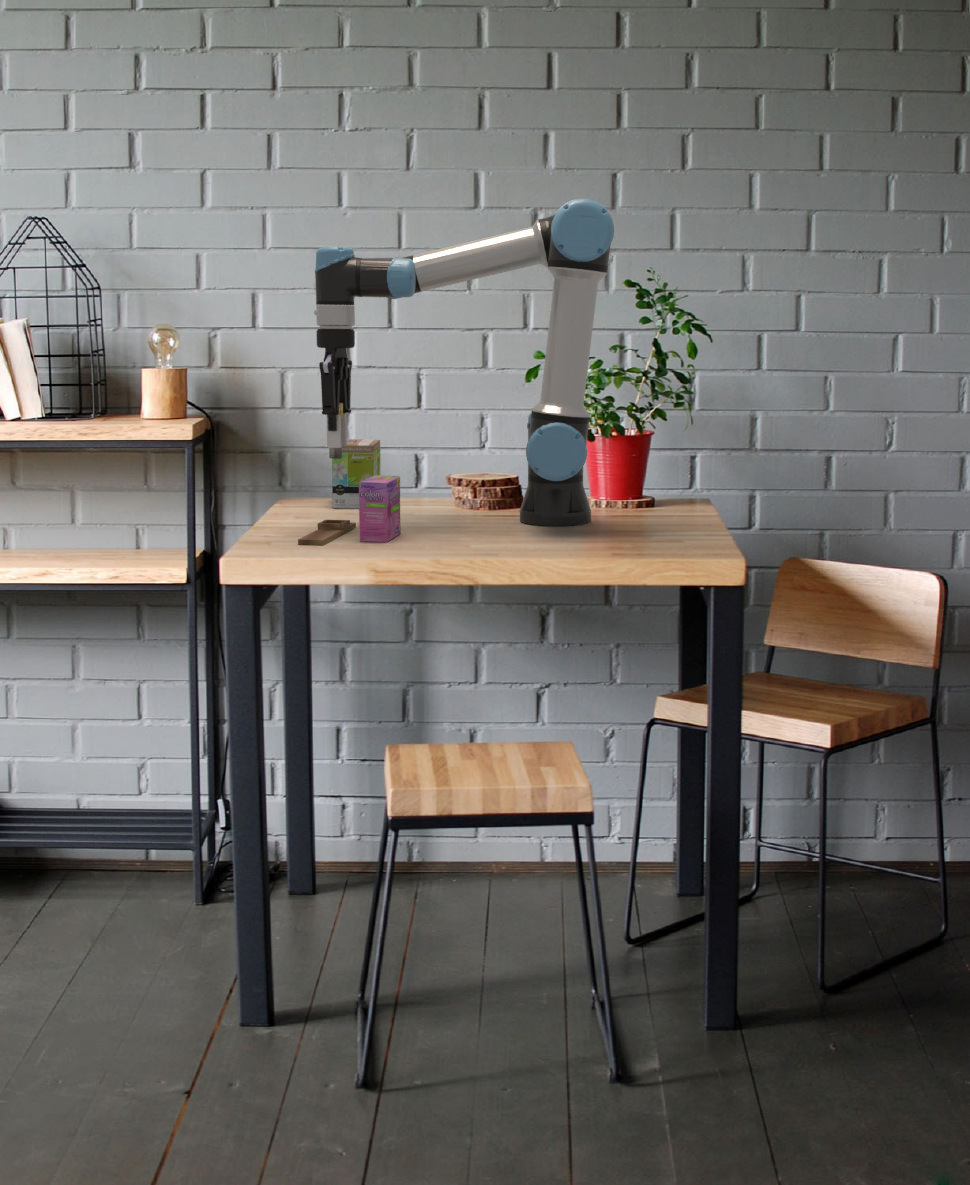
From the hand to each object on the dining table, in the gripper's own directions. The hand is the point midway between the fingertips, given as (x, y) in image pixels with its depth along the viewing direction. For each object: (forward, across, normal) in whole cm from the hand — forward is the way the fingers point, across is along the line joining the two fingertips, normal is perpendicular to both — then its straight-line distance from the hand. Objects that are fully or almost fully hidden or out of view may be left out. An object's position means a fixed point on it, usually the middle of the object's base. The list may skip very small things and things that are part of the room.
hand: (337, 446), depth 266 cm
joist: (+17, +6, 0) cm, 18 cm away
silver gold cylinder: (+2, 0, 0) cm, 2 cm away
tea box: (+18, -38, -8) cm, 42 cm away
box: (+17, +7, +11) cm, 22 cm away
